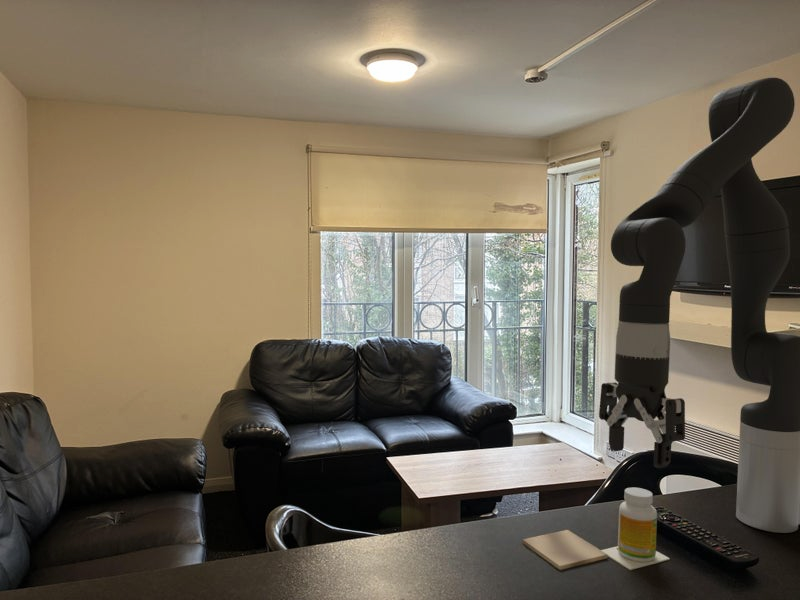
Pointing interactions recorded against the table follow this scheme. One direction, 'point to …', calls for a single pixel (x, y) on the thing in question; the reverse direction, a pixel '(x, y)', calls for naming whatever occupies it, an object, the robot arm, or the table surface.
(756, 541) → the table surface
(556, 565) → the oak coaster
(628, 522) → the supplement bottle
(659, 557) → the tile
